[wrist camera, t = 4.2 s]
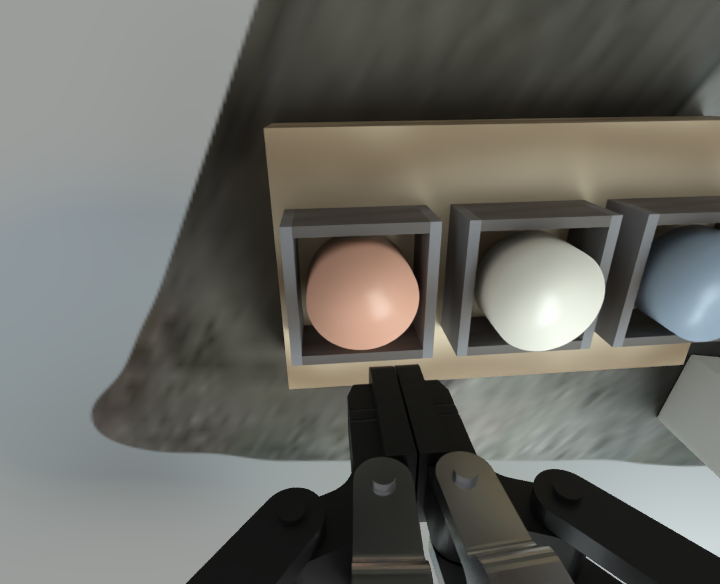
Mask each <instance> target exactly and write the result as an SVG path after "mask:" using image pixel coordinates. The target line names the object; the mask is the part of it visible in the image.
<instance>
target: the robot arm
mask: <svg viewBox="0 0 720 584" xmlns="http://www.w3.org/2000/svg"><path fill="white" fill-rule="evenodd" d="M347 398H348V435H349V448H350V460H351V472H352V473H351V475H350V477H349V479H348V480H347V481H346V483H345V484H343V485H342V486H341V487H339V488H338V489H336V490H334V491H332V492H330V493H327V494H325V495H322V496H320V497H319V496H318V495H317V494H315V493H314V492H312V491H310V490H308V489H305V488H289V489H285V490H282V491H280V492H278V493H276V494H275V495H273V496H272V497H271V498H270V499H269V500H268V501H267V502H266V503H265V504H264V505H263V506H262V507H261V508H260V509H259V510H258V511H257V512H256V513H255V514H254V515H253V516H252V517H251V518H250V519H249V520H248V521H247V522H246V523H245V524H244V525H243V526H242V527H241V528H240V529H239V530H238V531H237V532H236V533H235V534H234V535H233V536H232V537H231V538H230V539H229V540H228V541H227V542H226V544H225V545H223V546H222V548H221V549H219V551H218V552H217V553H216V554H215V555H214V556H213V557H212V558H211V559H210V560H209V561H208V562H207V563H206V564H205V565H204V566H203V567H202V568H201V569H200V570H199V571H198V572H197V573H196V574H195V575H194V576H193V577H192V578H191V579H190V580H189V581H188V582H187V583H186V584H433V579H432V572H431V568H430V564H429V562H428V561H427V560H425V557H424V551H423V544H422V538H421V530H420V524H419V522H427V526H428V529H429V533H430V536H429V553H430V557H431V560H432V563H433V566H434V569H435V573H436V576H437V579H438V582H439V584H623V583H621V582H620V581H618V580H617V579H616V578H614V577H613V576H611V575H610V574H608V573H607V572H606V571H604V570H603V569H601V568H600V567H598V566H597V565H595V564H594V563H593V562H591V561H590V560H588V559H587V558H586V556H587V557H589V558H590V559H592V560H593V561H594V562H596V563H597V564H599V565H600V566H602V567H603V568H604V569H606V570H608V571H609V572H610V573H612V574H613V575H615V576H616V577H618V578H619V579H620V580H622V581H623V582H625V583H627V584H720V557H718V556H716V555H714V554H712V553H711V552H709V551H707V550H706V549H704V548H702V547H701V546H699V545H697V544H695V543H694V542H692V541H690V540H688V539H687V538H685V537H683V536H681V535H680V534H678V533H676V532H674V531H673V530H671V529H669V528H668V527H666V526H664V525H663V524H660V523H659V522H657V521H656V520H654V519H652V518H650V517H649V516H647V515H645V514H643V513H642V512H640V511H638V510H636V509H635V508H633V507H631V506H630V505H628V504H626V503H624V502H623V501H621V500H619V499H617V498H616V497H614V496H612V495H611V494H609V493H607V492H606V491H604V490H602V489H600V488H599V487H597V486H595V485H593V484H592V483H590V482H588V481H586V480H585V479H583V478H581V477H579V476H578V475H576V474H573V473H571V472H568V471H564V470H559V469H550V470H545V471H543V472H541V473H539V474H538V475H537V476H536V478H535V480H534V483H533V482H528V481H523V480H518V479H513V478H508V477H505V476H502V475H499V474H497V473H495V472H494V470H493V469H492V467H491V466H490V465H489V464H488V462H486V461H485V460H484V459H483V458H481V457H479V456H477V455H476V453H475V450H474V448H473V446H472V443H471V441H470V439H469V436H468V434H467V432H466V429H465V427H464V425H463V422H462V420H461V418H460V415H458V411H457V408H456V406H455V405H454V402H453V399H452V397H451V395H450V392H449V390H448V389H447V388H446V387H445V386H444V385H442V384H441V383H440V382H439V381H438V380H425V379H424V377H423V374H422V371H421V368H420V366H419V364H410V365H395V366H376V367H369V384H356V385H353V387H352V388H351V390H350V392H349V394H348V396H347Z"/></svg>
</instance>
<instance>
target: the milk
mask: <svg viewBox="0 0 720 584" xmlns="http://www.w3.org/2000/svg"><path fill="white" fill-rule="evenodd" d="M657 418H658V420H659V421H661V422H662V423H663V424H664V425H665V426H666V427H667V428H668V429H669V430H670V431H671V432H672V433H673V434H674V435H675V436H676V437H677V438H678V439H679V440H680V441H681V442H682V443H684V444H685V445H686V446H687V447H688V448H689V449H690V450H691V451H692V452H693V453H694V454H695V455H696V456H697V457H698V458H699V459H700V460H701V461H702V462H703V463H704V464H705V465H707V466H708V467H709V468H710V469H711V470H712V471H713V472H714V473H715V474H716V475H717V476H718V477H719V478H720V357H713V356H701V355H691V356H690V358H689V360H688V361H687V363H686V365H685V367H684V369H683V371H682V372H681V374H680V376H679V378H678V380H677V382H676V384H675V385H674V387H673V389H672V391H671V393H670V395H669V396H668V398H667V400H666V402H665V404H664V406H663V408H662V409H661V411H660V413H659V415H658V417H657Z"/></svg>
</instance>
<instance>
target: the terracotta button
mask: <svg viewBox="0 0 720 584" xmlns="http://www.w3.org/2000/svg"><path fill="white" fill-rule="evenodd" d="M418 305H419V288H418V284H417V281H416V278H415V276H414V274H413V272H412V270H411V269H410V267H409V265H408V263H407V261H406V259H405V257H404V255H403V253H402V252H401V251H400V249H399V248H398V247H397V246H396V245H395V244H394V243H393V242H392V241H391V240H389V239H388V238H386V237H385V236H382V235H371V236H344V237H333V238H331V239H330V240H328V241H327V242H326V243H324V244H323V245H322V246H321V247H320V248H319V250H318V251H317V252H316V254H315V255H314V257H313V259H312V261H311V263H310V266H309V270H308V278H307V294H306V306H307V312H308V315H309V318H310V320H311V322H312V324H313V326H314V327H315V329H316V330H317V331H318V332H319V334H321V335H322V336H323V337H324V338H325V339H327V340H328V341H330V342H331V343H333V344H335V345H337V346H340V347H343V348H347V349H353V350H368V349H374V348H378V347H381V346H384V345H386V344H388V343H390V342H392V341H393V340H395V339H397V338H398V337H399V336H400V335H401V334H403V333H404V332H405V330H406V329H407V328H408V327H409V326H410V324H411V323H412V321H413V319H414V317H415V315H416V313H417V309H418Z"/></svg>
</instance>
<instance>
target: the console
mask: <svg viewBox="0 0 720 584" xmlns="http://www.w3.org/2000/svg"><path fill="white" fill-rule="evenodd" d="M264 137H265V147H266V157H267V168H268V178H269V188H270V198H271V208H272V218H273V229H274V239H275V249H276V259H277V269H278V280H279V290H280V300H281V310H282V320H283V331H284V341H285V351H286V361H287V371H288V381H289V389H301V388H317V387H333V386H349V385H356V384H369V367H376V366H395V365H410V364H419V366H420V368H421V371H422V374H423V377H424V379H425V380H446V379H462V378H478V377H494V376H510V375H526V374H542V373H558V372H574V371H590V370H606V369H623V368H639V367H655V366H671V365H683V364H684V361H685V358H686V356H687V353H688V350H689V347H690V345H691V343H697V342H694V341H689V340H685V339H683V338H681V337H679V336H677V335H676V334H674V333H673V332H672V331H670V330H669V329H667V328H666V327H664V326H663V325H661V324H660V323H658V322H657V321H655V320H654V319H652V318H651V317H649V316H648V315H646V314H645V313H643V312H642V311H640V310H639V309H638V308H637V307H636V306H635V304H634V303H635V300H636V296H637V293H638V289H639V286H640V282H641V279H642V275H643V272H644V268H645V265H646V261H647V258H648V254H649V251H650V248H651V244H652V242H654V241H655V240H656V239H657V238H659V237H660V236H662V235H663V234H665V233H667V232H668V231H671V230H673V229H675V228H678V227H681V226H685V225H692V224H700V225H706V226H709V227H712V228H715V229H718V230H720V117H719V116H658V117H597V118H536V119H475V120H414V121H353V122H292V123H272V124H270V125H268V126H266V127H265V128H264ZM529 230H539V231H545V232H548V233H551V234H553V235H555V236H557V237H559V238H560V239H562V240H564V241H565V242H567V243H569V244H571V245H572V246H574V247H576V248H577V249H579V250H581V251H582V252H584V253H586V254H587V255H589V256H590V257H591V258H593V259H594V260H595V262H596V263H597V264H598V265H599V267H600V269H601V271H602V273H603V276H604V280H605V295H604V300H603V303H602V306H601V308H600V311H599V313H598V314H597V316H596V318H595V319H594V321H593V322H592V323H591V325H590V326H589V327H588V328H587V329H586V330H585V331H584V332H583V333H582V334H580V335H579V336H578V337H577V338H575V339H574V340H572V341H570V342H569V343H567V344H565V345H563V346H560V347H557V348H554V349H551V350H546V351H526V350H522V349H519V348H516V347H514V346H512V345H510V344H509V343H507V342H506V341H505V340H504V339H503V338H502V337H501V336H500V335H499V333H498V332H497V331H496V329H495V328H494V327H493V325H492V324H491V323H490V321H489V320H488V319H487V317H486V316H485V315H484V313H483V312H482V311H481V309H480V308H479V306H478V304H477V302H476V300H475V296H474V286H475V277H476V271H477V268H478V266H479V264H480V262H481V260H482V259H483V257H484V256H485V255H486V253H487V252H488V251H489V250H490V249H491V248H492V247H493V246H494V245H496V244H497V243H498V242H499V241H501V240H503V239H504V238H506V237H508V236H510V235H512V234H515V233H518V232H522V231H529ZM371 235H382V236H385V237H386V238H388V239H389V240H391V241H392V242H393V243H394V244H395V245H396V246H397V247H398V248H399V249H400V251H401V252H402V253H403V255H404V257H405V259H406V261H407V263H408V265H409V267H410V269H411V270H412V272H413V274H414V276H415V278H416V281H417V284H418V288H419V305H418V309H417V313H416V315H415V317H414V319H413V321H412V323H411V324H410V326H409V327H408V328H407V329H406V330H405V332H404V333H403V334H401V335H400V336H399V337H398V338H397V339H395V340H393V341H392V342H390V343H388V344H386V345H384V346H381V347H378V348H374V349H368V350H353V349H347V348H343V347H340V346H337V345H335V344H333V343H331V342H330V341H328V340H327V339H325V338H324V337H323V336H322V335H321V334H319V332H318V331H317V330H316V329H315V327H314V326H313V324H312V322H311V320H310V318H309V315H308V312H307V306H306V294H307V278H308V270H309V266H310V263H311V261H312V259H313V257H314V255H315V254H316V252H317V251H318V250H319V248H320V247H321V246H322V245H323V244H324V243H326V242H327V241H328V240H330V239H331V238H333V237H344V236H371ZM714 341H720V338H719V339H716V340H712V341H705V342H714Z"/></svg>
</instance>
